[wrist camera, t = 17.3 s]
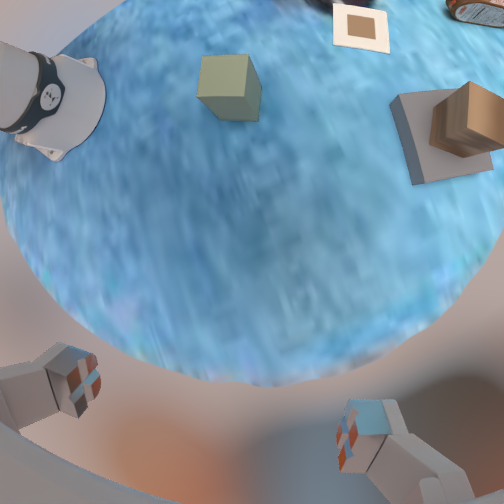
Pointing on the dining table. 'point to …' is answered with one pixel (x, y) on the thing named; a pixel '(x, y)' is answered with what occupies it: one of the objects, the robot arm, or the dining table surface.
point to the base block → (418, 136)
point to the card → (360, 28)
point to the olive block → (230, 87)
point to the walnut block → (468, 122)
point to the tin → (478, 11)
